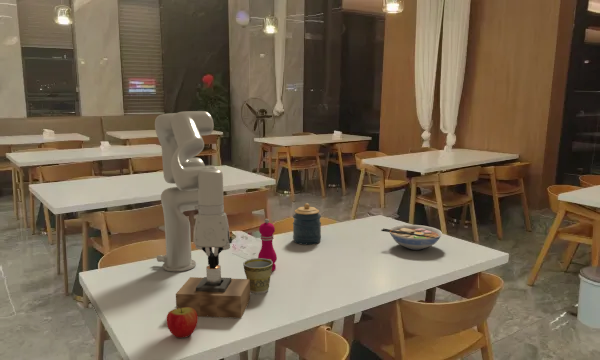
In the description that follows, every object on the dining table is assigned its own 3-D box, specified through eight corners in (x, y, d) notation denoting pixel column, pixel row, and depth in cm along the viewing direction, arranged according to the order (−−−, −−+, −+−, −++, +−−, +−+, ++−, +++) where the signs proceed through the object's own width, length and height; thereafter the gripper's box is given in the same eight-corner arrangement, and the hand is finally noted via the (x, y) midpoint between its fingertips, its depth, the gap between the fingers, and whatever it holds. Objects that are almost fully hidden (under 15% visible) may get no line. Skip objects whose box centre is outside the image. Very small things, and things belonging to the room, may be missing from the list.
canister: (295, 236, 236) (294, 200, 233) (322, 237, 234) (322, 200, 231) (290, 244, 223) (290, 206, 220) (319, 245, 221) (319, 207, 218)
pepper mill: (274, 273, 187) (273, 221, 184) (255, 271, 189) (254, 220, 185) (278, 266, 194) (278, 217, 191) (261, 265, 195) (260, 216, 192)
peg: (205, 293, 154) (204, 269, 153) (209, 288, 158) (208, 264, 157) (219, 294, 154) (218, 269, 152) (222, 288, 158) (222, 264, 157)
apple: (161, 339, 136) (159, 305, 135) (179, 326, 144) (177, 293, 142) (186, 344, 133) (185, 309, 132) (203, 331, 141) (202, 297, 140)
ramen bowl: (450, 245, 221) (451, 227, 219) (434, 259, 202) (435, 240, 200) (397, 237, 234) (397, 220, 233) (377, 249, 215) (378, 231, 214)
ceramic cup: (261, 298, 164) (261, 269, 162) (237, 292, 169) (237, 264, 167) (283, 286, 174) (283, 258, 173) (260, 280, 180) (260, 254, 178)
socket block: (176, 315, 151) (175, 290, 150) (191, 297, 165) (190, 273, 163) (241, 318, 149) (240, 292, 148) (250, 299, 163) (249, 275, 162)
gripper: (183, 212, 149) (186, 270, 152) (232, 212, 147) (234, 271, 150) (191, 206, 156) (194, 262, 159) (238, 207, 155) (239, 263, 158)
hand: (213, 266), depth 155 cm, fingers closed
